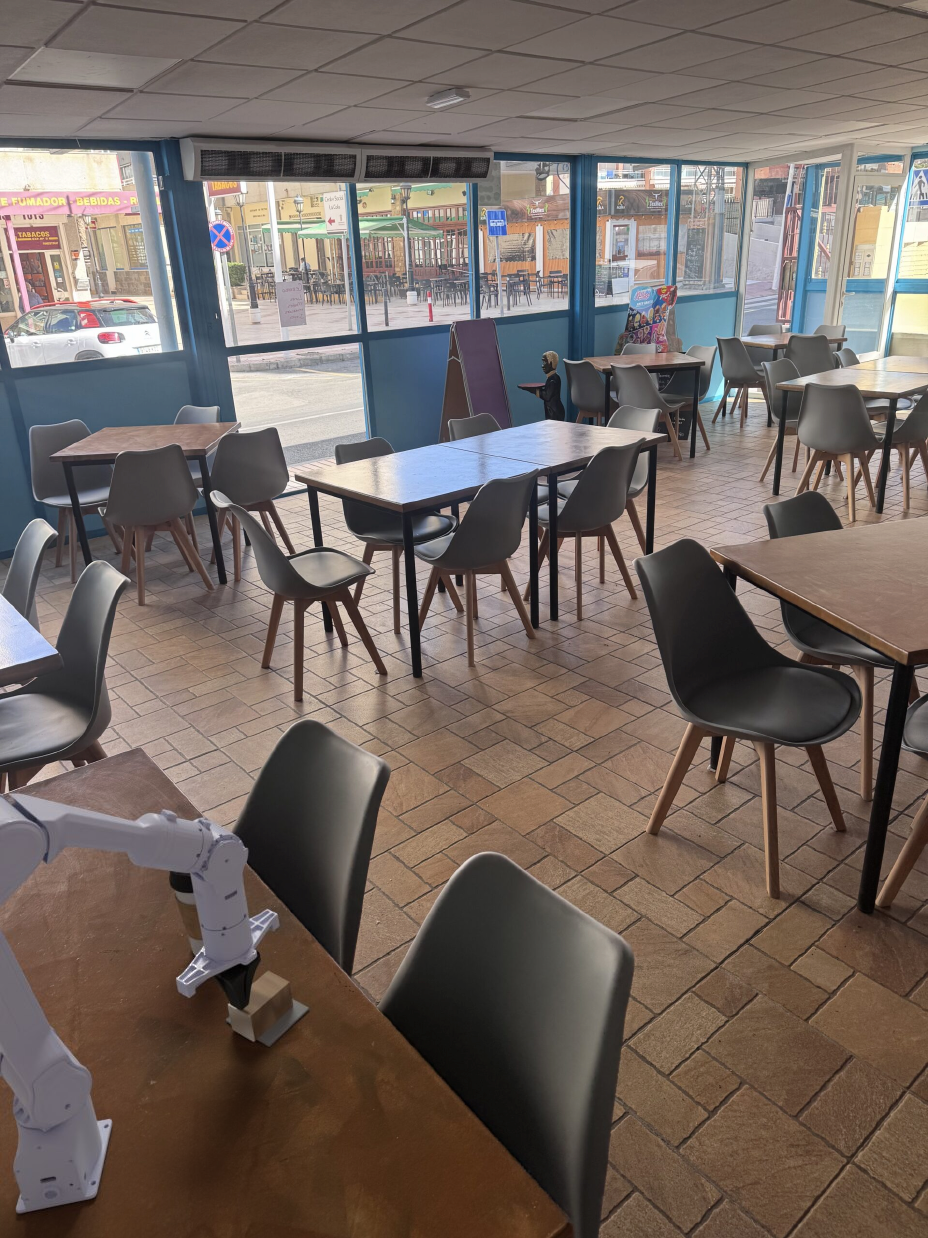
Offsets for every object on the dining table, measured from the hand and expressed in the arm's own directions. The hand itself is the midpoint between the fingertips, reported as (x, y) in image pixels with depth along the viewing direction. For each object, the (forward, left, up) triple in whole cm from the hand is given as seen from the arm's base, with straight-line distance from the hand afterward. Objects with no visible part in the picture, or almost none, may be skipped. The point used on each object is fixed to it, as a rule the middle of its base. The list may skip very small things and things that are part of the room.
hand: (239, 1004), depth 110 cm
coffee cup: (+19, +6, -5) cm, 20 cm away
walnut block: (0, 0, -3) cm, 3 cm away
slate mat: (+3, -3, -5) cm, 6 cm away
